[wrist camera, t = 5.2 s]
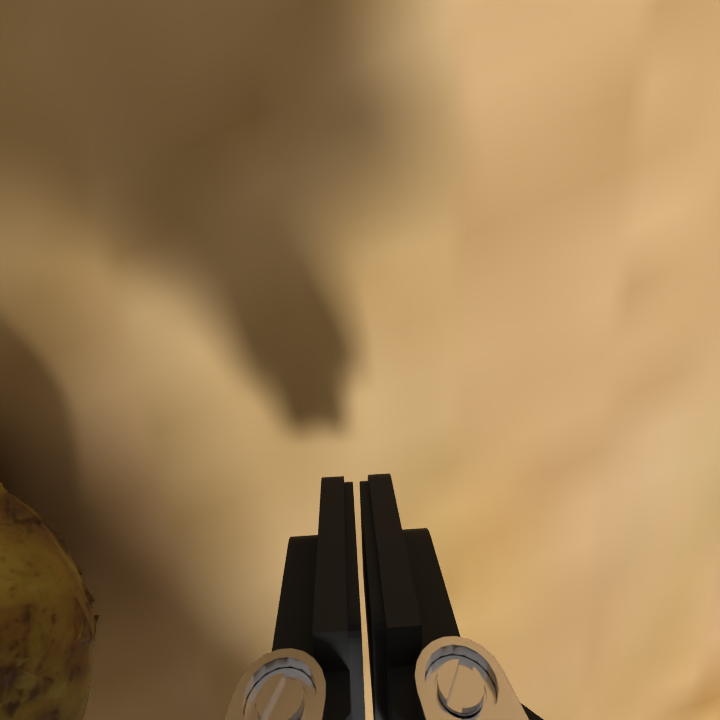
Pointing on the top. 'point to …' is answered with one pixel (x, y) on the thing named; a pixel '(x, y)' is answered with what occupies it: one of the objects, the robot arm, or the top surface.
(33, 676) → the potato
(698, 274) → the top surface
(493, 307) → the top surface
